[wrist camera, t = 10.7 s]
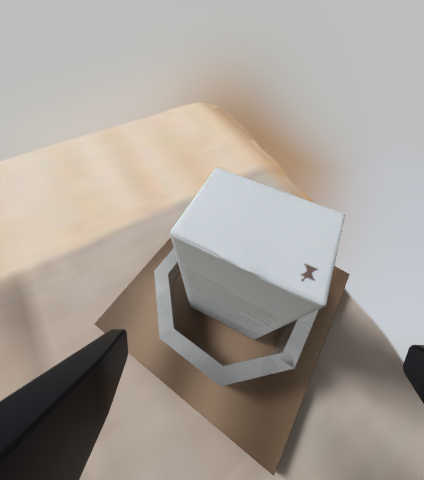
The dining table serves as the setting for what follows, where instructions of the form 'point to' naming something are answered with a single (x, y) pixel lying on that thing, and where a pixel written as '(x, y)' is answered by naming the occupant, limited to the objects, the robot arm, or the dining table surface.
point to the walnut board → (222, 362)
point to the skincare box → (255, 253)
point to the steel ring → (226, 374)
